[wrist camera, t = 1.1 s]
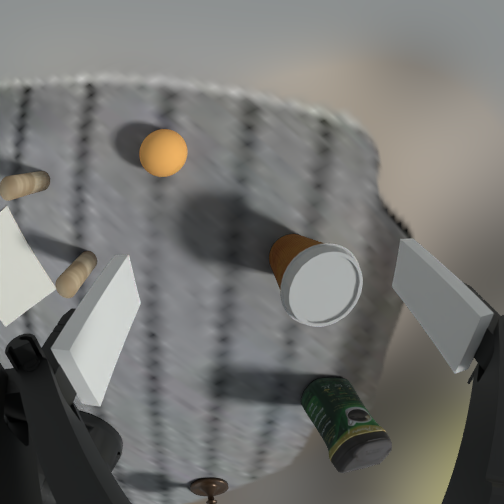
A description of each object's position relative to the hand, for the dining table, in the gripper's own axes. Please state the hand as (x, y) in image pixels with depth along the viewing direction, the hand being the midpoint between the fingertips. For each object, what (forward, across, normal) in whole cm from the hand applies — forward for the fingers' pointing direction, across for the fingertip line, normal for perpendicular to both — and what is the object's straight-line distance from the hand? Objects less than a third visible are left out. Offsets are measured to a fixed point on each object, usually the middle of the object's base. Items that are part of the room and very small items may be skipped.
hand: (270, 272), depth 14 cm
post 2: (+21, +22, +9) cm, 32 cm away
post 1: (+22, +27, -3) cm, 35 cm away
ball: (+22, +10, -4) cm, 24 cm away
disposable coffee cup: (+26, -5, +12) cm, 29 cm away
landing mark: (+19, +37, +8) cm, 42 cm away
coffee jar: (+23, -12, +39) cm, 47 cm away
